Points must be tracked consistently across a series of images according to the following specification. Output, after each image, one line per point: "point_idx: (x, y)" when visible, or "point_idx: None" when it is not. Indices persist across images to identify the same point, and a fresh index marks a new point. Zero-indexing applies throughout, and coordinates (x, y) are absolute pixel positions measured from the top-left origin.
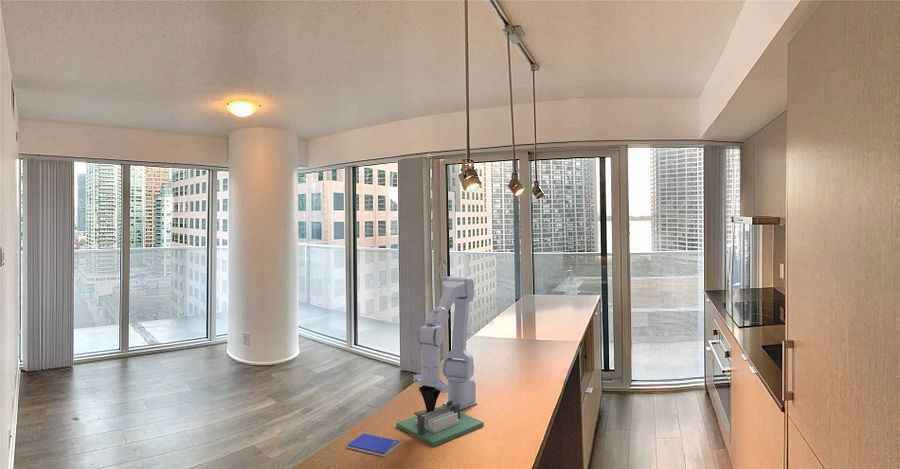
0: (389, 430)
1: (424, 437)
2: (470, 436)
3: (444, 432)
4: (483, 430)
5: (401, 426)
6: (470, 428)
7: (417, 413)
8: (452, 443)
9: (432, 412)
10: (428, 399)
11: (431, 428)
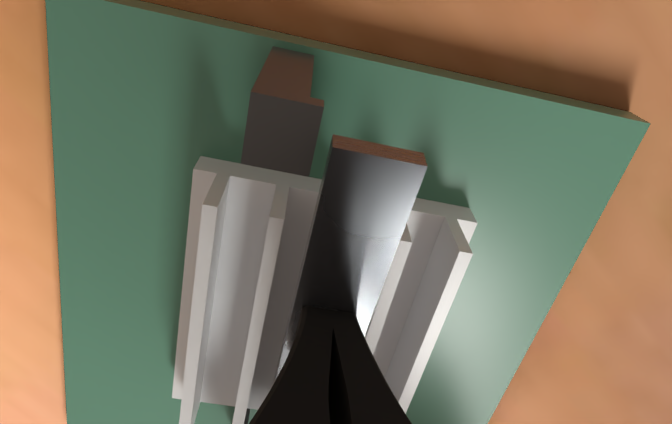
0: (656, 9)
1: (201, 25)
2: (16, 296)
3: (140, 211)
4: (32, 395)
5: (566, 103)
6: (66, 363)
7: (360, 166)
8: (7, 138)
9: (289, 322)
10: (268, 416)
11: (237, 176)
